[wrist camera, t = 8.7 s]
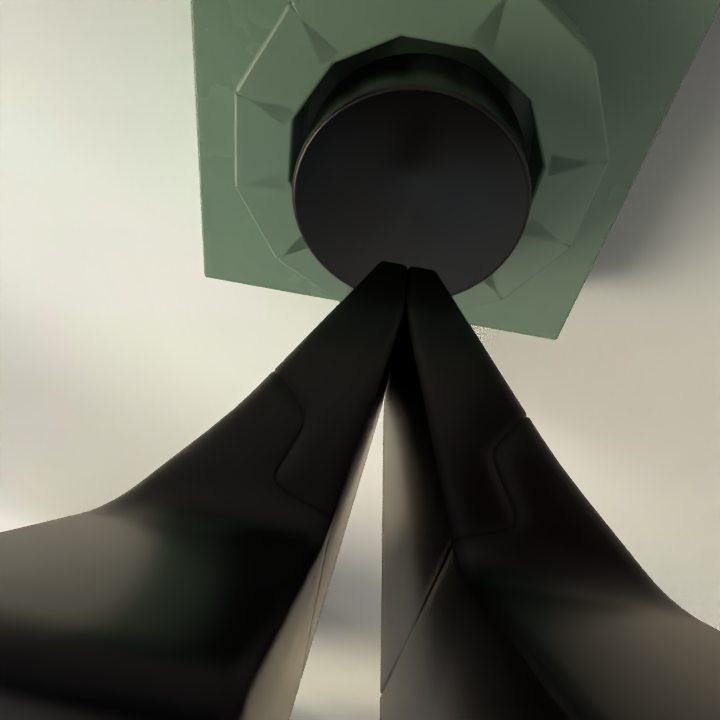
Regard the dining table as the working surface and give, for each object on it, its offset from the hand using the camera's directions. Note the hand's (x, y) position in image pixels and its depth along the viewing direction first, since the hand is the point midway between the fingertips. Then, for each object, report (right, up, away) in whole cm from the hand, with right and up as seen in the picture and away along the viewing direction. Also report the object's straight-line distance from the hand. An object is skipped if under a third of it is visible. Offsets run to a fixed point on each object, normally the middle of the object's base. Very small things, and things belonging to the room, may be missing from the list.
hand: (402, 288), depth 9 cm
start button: (0, +3, +3) cm, 4 cm away
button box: (+1, +6, +6) cm, 8 cm away
